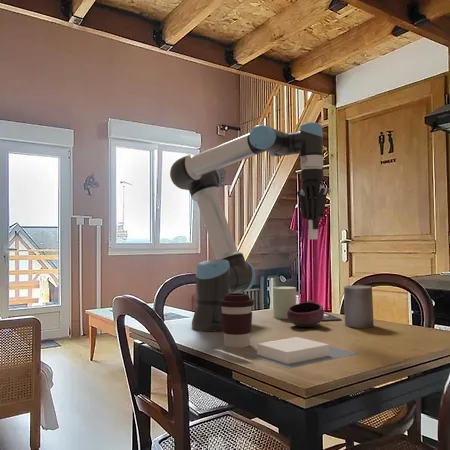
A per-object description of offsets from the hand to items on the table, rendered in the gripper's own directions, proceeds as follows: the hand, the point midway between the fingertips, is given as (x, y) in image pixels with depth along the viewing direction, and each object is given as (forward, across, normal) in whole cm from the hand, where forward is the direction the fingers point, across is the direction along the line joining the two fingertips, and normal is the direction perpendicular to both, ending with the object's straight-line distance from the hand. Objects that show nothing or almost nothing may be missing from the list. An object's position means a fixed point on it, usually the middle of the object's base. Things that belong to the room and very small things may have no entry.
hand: (313, 239), depth 160 cm
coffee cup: (+31, +4, -35) cm, 46 cm away
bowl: (+31, -9, +3) cm, 32 cm away
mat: (+30, +23, -28) cm, 47 cm away
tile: (+28, +23, -23) cm, 43 cm away
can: (+31, -27, +10) cm, 42 cm away
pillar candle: (+31, +3, +18) cm, 36 cm away
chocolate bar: (+31, -18, +21) cm, 42 cm away
